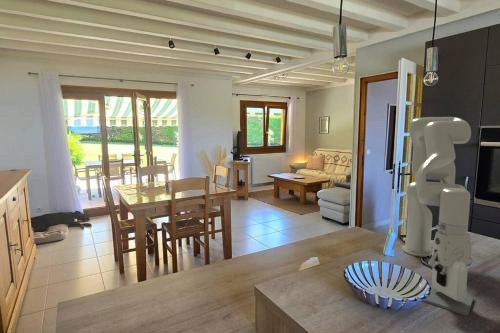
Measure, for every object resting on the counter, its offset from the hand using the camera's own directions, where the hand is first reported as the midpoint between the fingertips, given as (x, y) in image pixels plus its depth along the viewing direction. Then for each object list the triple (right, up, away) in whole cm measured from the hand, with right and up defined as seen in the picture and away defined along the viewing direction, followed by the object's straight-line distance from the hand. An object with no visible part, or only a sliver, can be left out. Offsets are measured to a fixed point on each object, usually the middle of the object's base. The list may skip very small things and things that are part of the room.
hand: (448, 283), depth 95 cm
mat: (0, -5, 0) cm, 5 cm away
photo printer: (0, -3, 0) cm, 3 cm away
